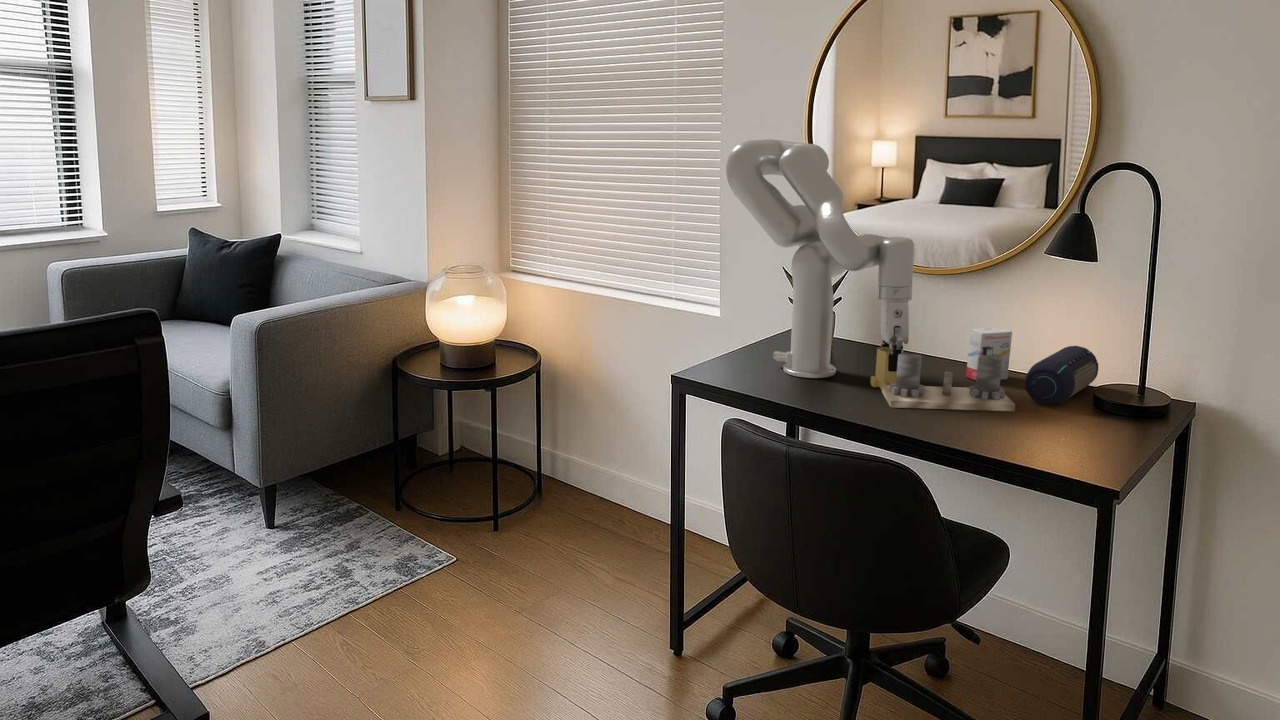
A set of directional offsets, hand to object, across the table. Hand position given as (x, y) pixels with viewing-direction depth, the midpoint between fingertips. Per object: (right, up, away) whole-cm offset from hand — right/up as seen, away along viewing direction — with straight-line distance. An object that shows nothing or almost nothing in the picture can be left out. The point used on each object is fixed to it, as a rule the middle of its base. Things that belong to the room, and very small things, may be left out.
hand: (891, 365), depth 223 cm
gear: (-1, -4, +2) cm, 5 cm away
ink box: (+25, -3, +8) cm, 26 cm away
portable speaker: (+37, -7, -5) cm, 38 cm away
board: (+9, -8, -10) cm, 16 cm away
